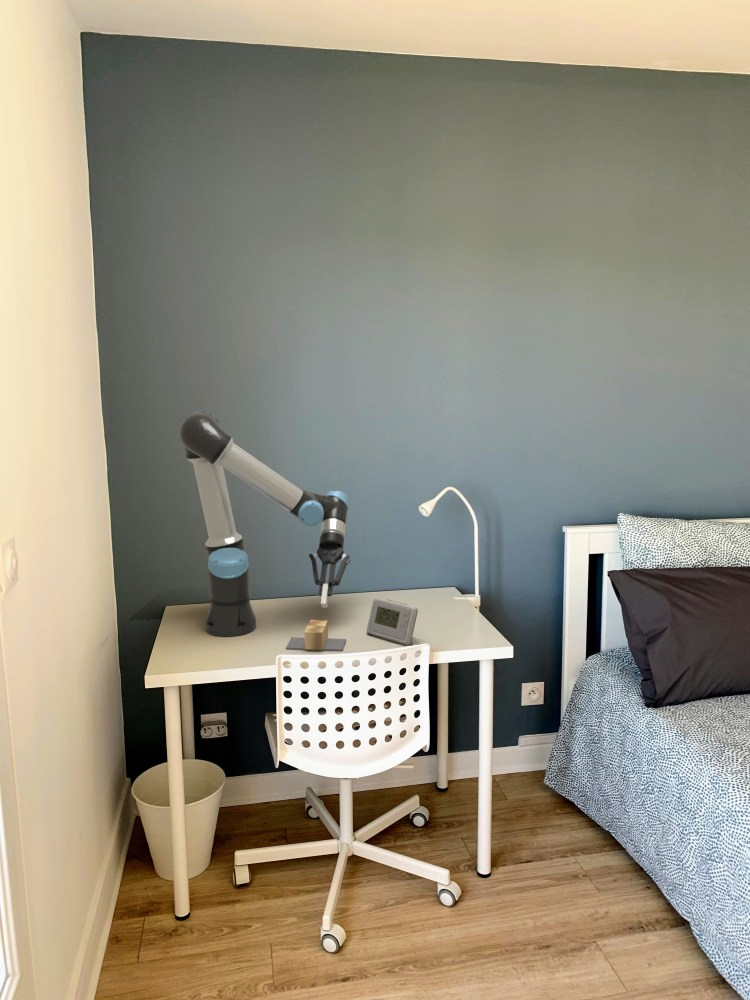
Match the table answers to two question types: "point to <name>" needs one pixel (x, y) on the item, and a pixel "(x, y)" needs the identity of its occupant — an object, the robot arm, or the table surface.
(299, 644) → the mat
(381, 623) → the digital clock
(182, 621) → the table surface
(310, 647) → the oak block
